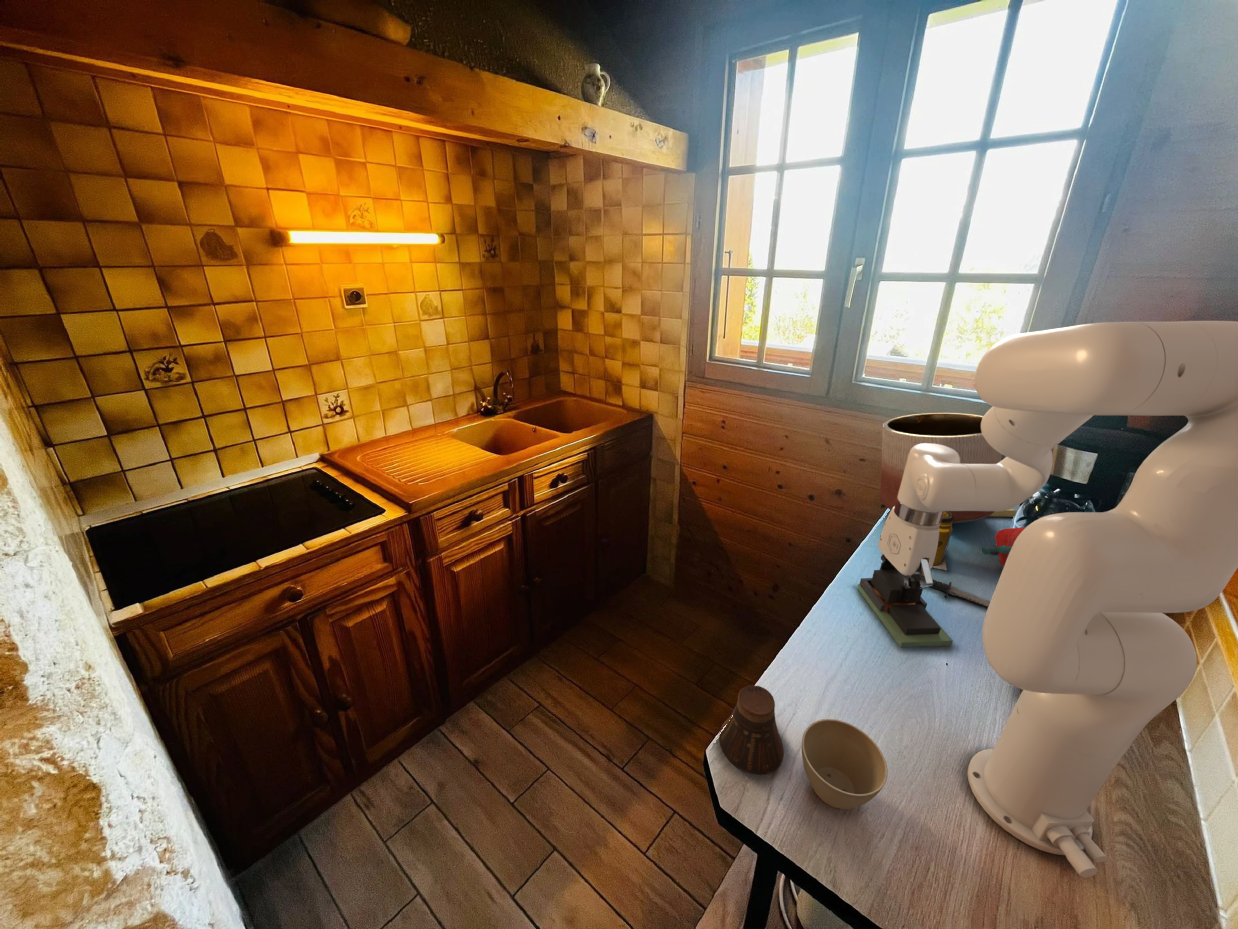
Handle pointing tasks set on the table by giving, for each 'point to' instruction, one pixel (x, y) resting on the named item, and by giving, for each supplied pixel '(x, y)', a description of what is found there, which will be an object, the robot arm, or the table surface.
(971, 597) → the knife
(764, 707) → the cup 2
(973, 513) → the planter
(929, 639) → the dock
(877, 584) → the loose pad
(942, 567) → the condiment
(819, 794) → the beige bowl
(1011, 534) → the toy
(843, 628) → the table surface
